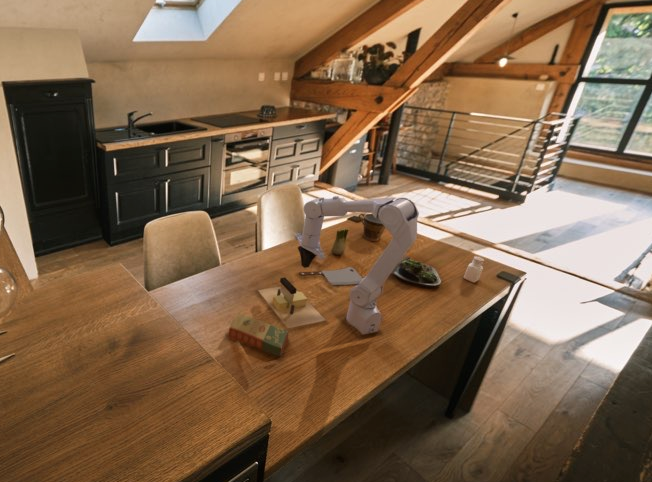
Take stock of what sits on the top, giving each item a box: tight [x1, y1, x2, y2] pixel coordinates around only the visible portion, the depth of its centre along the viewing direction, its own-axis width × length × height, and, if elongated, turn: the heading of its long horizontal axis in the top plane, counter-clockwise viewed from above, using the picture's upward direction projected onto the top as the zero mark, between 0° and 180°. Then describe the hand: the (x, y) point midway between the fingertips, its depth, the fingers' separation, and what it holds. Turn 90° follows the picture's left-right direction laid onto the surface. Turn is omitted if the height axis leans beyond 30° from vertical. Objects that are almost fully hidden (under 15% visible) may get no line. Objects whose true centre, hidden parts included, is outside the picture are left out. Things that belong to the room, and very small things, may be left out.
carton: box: [227, 312, 289, 358], centre depth 115 cm, size 8×16×4 cm, turn 61°
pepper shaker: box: [463, 255, 485, 284], centre depth 146 cm, size 4×4×10 cm
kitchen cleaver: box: [298, 266, 364, 286], centre depth 147 cm, size 24×1×10 cm
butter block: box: [284, 291, 308, 309], centre depth 130 cm, size 4×7×3 cm, turn 107°
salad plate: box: [391, 255, 442, 289], centre depth 151 cm, size 19×18×5 cm
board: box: [257, 285, 327, 329], centre depth 129 cm, size 20×14×4 cm
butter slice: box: [272, 295, 287, 311], centre depth 128 cm, size 4×3×3 cm
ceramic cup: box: [358, 213, 386, 242], centre depth 177 cm, size 13×10×10 cm
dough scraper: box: [279, 276, 298, 304], centre depth 127 cm, size 7×2×6 cm, turn 17°
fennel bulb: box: [330, 228, 349, 256], centre depth 161 cm, size 6×5×12 cm
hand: (305, 266), depth 135 cm, fingers closed
